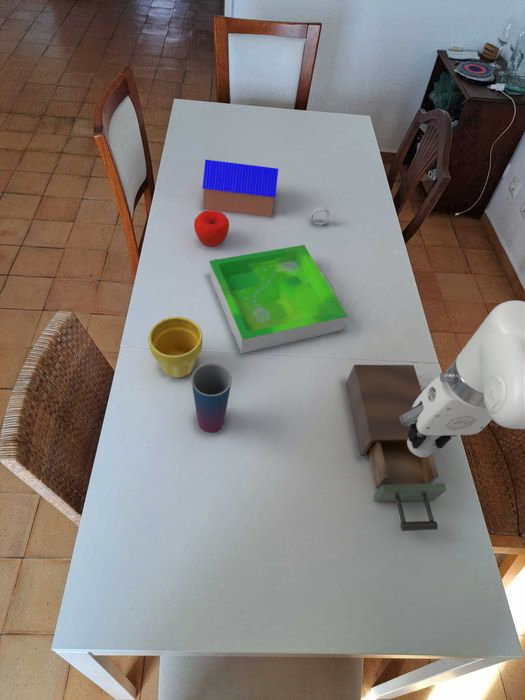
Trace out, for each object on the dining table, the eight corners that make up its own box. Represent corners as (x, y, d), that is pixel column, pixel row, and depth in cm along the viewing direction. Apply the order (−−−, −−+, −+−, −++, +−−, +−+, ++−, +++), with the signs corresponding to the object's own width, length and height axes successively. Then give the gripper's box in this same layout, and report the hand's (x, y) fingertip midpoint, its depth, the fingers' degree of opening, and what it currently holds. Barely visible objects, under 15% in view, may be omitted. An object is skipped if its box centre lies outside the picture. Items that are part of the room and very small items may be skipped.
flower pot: (154, 345, 98) (149, 315, 91) (202, 345, 100) (202, 315, 92) (151, 386, 92) (146, 357, 85) (202, 384, 94) (202, 357, 86)
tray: (342, 330, 107) (347, 316, 103) (241, 353, 100) (242, 339, 96) (300, 259, 120) (304, 244, 116) (209, 275, 113) (209, 260, 109)
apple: (203, 257, 117) (202, 232, 111) (189, 236, 121) (188, 211, 115) (234, 248, 120) (235, 224, 114) (219, 228, 124) (220, 204, 118)
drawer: (444, 533, 79) (458, 525, 75) (381, 536, 78) (391, 527, 74) (412, 424, 92) (422, 411, 88) (358, 424, 91) (366, 411, 87)
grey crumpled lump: (327, 227, 129) (331, 212, 125) (310, 225, 129) (313, 211, 125) (326, 221, 131) (330, 206, 127) (309, 219, 131) (312, 204, 127)
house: (207, 184, 136) (208, 147, 127) (274, 193, 137) (279, 156, 128) (202, 209, 129) (202, 171, 119) (272, 217, 130) (277, 181, 120)
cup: (189, 433, 87) (186, 391, 75) (198, 403, 91) (197, 359, 79) (224, 440, 87) (227, 399, 75) (231, 409, 91) (235, 366, 79)
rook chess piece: (405, 454, 76) (423, 433, 70) (406, 431, 79) (423, 408, 72) (432, 461, 76) (452, 440, 69) (431, 437, 78) (451, 415, 72)
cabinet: (422, 455, 89) (437, 438, 84) (360, 456, 88) (371, 439, 82) (401, 383, 99) (413, 364, 93) (345, 383, 98) (354, 364, 92)
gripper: (426, 404, 57) (381, 462, 72) (546, 403, 59) (479, 460, 74) (411, 356, 62) (371, 420, 76) (523, 357, 64) (464, 419, 78)
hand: (425, 439), depth 75 cm, fingers closed on rook chess piece, 3 cm apart
